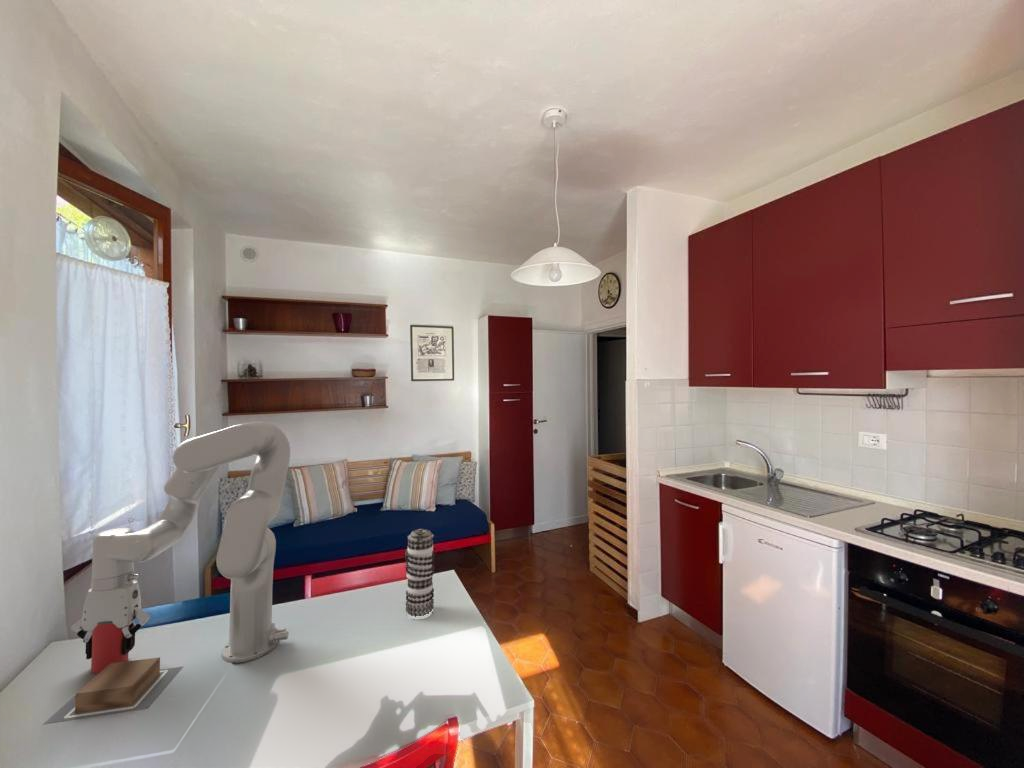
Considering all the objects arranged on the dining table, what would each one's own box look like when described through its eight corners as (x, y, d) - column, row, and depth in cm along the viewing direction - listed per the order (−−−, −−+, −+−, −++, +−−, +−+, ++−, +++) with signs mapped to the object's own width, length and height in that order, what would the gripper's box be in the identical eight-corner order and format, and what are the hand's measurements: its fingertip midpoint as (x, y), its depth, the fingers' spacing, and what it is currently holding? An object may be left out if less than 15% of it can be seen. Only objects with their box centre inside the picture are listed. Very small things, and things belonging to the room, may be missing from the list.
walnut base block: (159, 674, 98) (160, 657, 98) (131, 704, 88) (132, 685, 88) (109, 681, 96) (109, 663, 96) (74, 713, 86) (75, 693, 86)
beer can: (104, 677, 97) (106, 625, 98) (83, 673, 99) (85, 622, 99) (135, 659, 104) (136, 611, 104) (114, 656, 105) (116, 609, 106)
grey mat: (183, 668, 101) (183, 666, 101) (147, 710, 87) (147, 708, 87) (94, 679, 96) (94, 677, 97) (42, 726, 83) (42, 723, 83)
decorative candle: (406, 606, 131) (407, 527, 132) (435, 604, 132) (436, 526, 133) (402, 621, 122) (403, 536, 123) (433, 619, 123) (434, 535, 124)
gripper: (162, 570, 108) (160, 640, 107) (82, 577, 104) (79, 649, 103) (144, 583, 100) (142, 658, 100) (57, 591, 96) (54, 668, 96)
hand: (110, 653), depth 101 cm, fingers closed on beer can, 6 cm apart
